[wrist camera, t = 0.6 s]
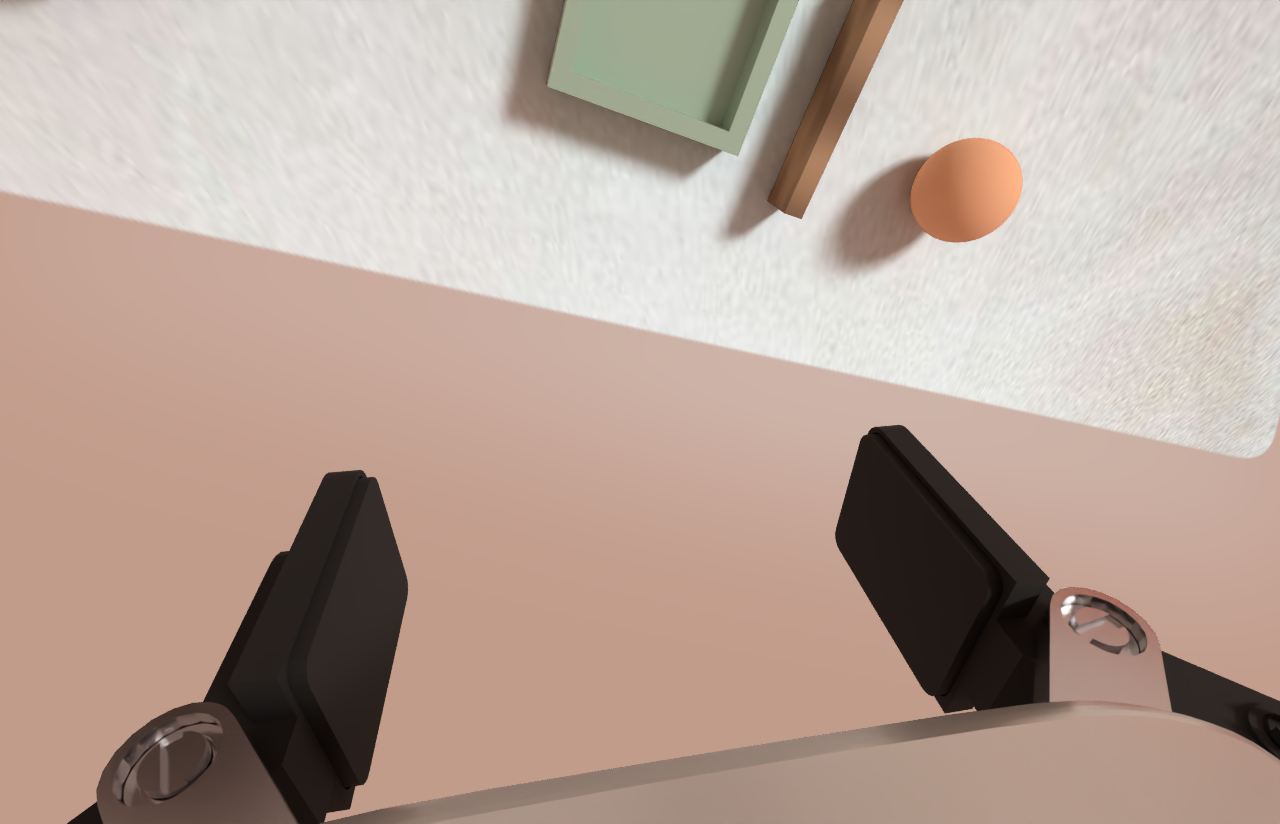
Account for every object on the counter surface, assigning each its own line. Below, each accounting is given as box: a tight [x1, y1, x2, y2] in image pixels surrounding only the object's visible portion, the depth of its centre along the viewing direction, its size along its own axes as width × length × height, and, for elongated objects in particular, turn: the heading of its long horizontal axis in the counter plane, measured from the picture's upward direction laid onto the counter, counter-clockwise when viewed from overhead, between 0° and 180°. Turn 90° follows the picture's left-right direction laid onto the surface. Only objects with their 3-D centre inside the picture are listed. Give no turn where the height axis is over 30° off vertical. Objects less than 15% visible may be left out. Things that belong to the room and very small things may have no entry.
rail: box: [768, 0, 904, 219], centre depth 33 cm, size 13×1×3 cm, turn 161°
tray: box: [546, 0, 799, 156], centre depth 29 cm, size 11×11×2 cm
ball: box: [911, 138, 1023, 242], centre depth 36 cm, size 6×6×6 cm
